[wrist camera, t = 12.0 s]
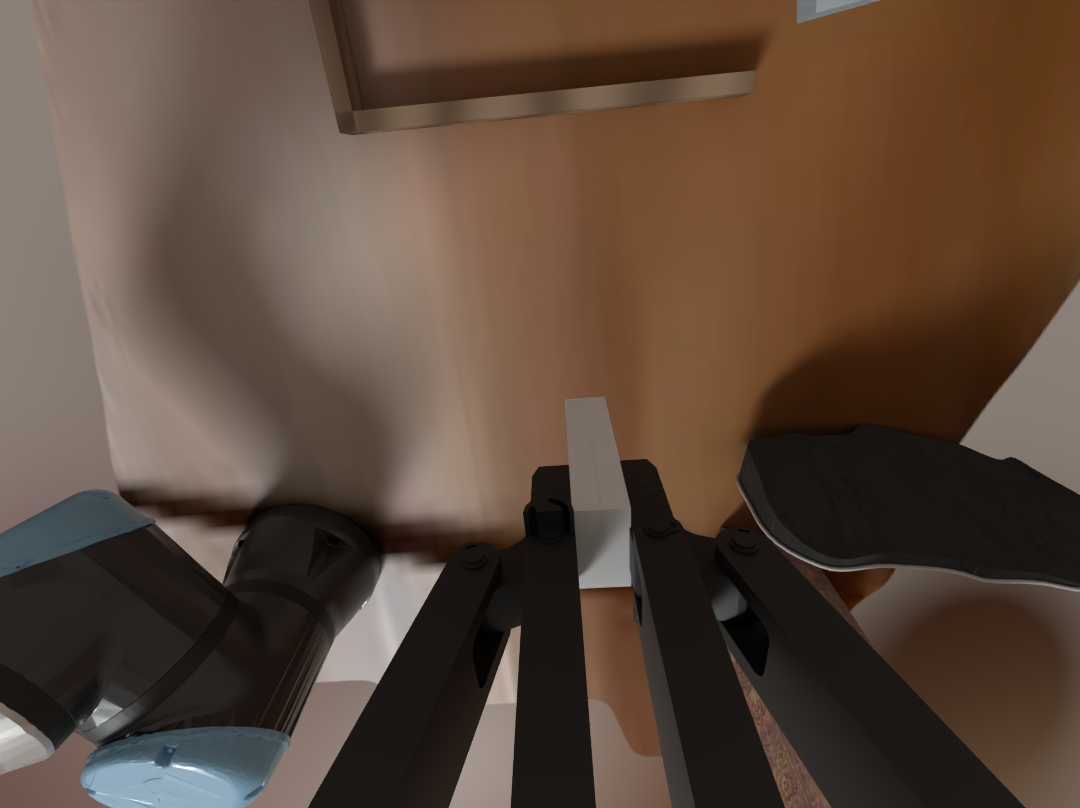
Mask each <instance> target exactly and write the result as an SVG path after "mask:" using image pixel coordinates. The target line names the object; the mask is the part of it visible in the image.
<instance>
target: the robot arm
mask: <svg viewBox="0 0 1080 808" xmlns="http://www.w3.org/2000/svg"><path fill="white" fill-rule="evenodd" d="M565 412H566V427H567V442H568V457H569V465H560V466H543V467H538V469H537V470H536V472H535V473H534V474H533V476H532V490H531V501H530V502H529V503H528V504H527V505H526V506H525V509H524V511H523V516H524V524H525V532H526V536H525V537H524V538H523V539H522V540H521V541H520V542H518V543H517V544H515V545H513V546H510V547H508V548H505V549H501V550H498V549H497V548H496V547H495V546H493V545H492V544H490V543H486V542H472V543H468V544H465V545H463V546H462V547H460V548H458V549H457V550H456V551H455V552H454V553H453V554H452V555H451V557H450V558H449V560H448V562H447V564H446V565H445V567H444V569H443V571H442V573H441V574H440V576H439V578H438V580H437V581H436V583H435V585H434V587H433V588H432V590H431V592H430V594H429V595H428V597H427V599H426V601H425V602H424V604H423V606H422V608H421V609H420V611H419V613H418V615H417V617H416V618H415V620H414V622H413V624H412V625H411V627H410V629H409V631H408V632H407V634H406V636H405V638H404V639H403V641H402V643H401V645H400V646H399V648H398V650H397V652H396V653H395V655H394V657H393V659H392V661H391V662H390V664H389V666H388V668H387V669H386V671H385V673H384V675H383V676H382V678H381V680H380V682H379V683H378V685H377V687H376V689H375V691H374V692H373V694H372V696H371V698H370V699H369V701H368V703H367V705H366V706H365V708H364V710H363V712H362V713H361V715H360V717H359V719H358V720H357V722H356V724H355V726H354V727H353V730H352V731H351V733H350V735H349V736H348V738H347V740H346V742H345V743H344V745H343V747H342V749H341V750H340V752H339V754H338V756H337V757H336V759H335V761H334V763H333V764H332V766H331V768H330V770H329V771H328V773H327V775H326V777H325V778H324V780H323V782H322V784H321V785H320V787H319V789H318V791H317V792H316V795H315V796H314V798H313V800H312V801H311V803H310V805H309V807H308V808H448V807H449V805H450V802H451V799H452V796H453V794H454V791H455V788H456V785H457V782H458V780H459V777H460V774H461V771H462V768H463V765H464V763H465V760H466V757H467V754H468V751H469V748H470V746H471V743H472V740H473V737H474V734H475V732H476V729H477V726H478V723H479V720H480V718H481V714H482V712H483V709H484V706H485V703H486V701H487V698H488V695H489V692H490V689H491V687H492V684H493V681H494V678H495V675H496V672H497V670H498V667H499V664H500V661H501V658H502V656H503V653H504V650H505V647H506V644H507V641H508V639H509V636H510V631H511V629H512V628H514V627H517V626H520V625H521V636H520V654H519V672H518V689H517V707H516V724H515V742H514V760H513V777H512V796H511V808H596V803H595V789H594V777H593V763H592V749H591V737H590V723H589V709H588V696H587V683H586V669H585V656H584V643H583V629H582V616H581V603H580V589H582V588H602V587H623V586H631V579H632V584H633V622H637V624H638V630H639V635H640V640H641V646H642V651H643V656H644V662H645V667H646V672H647V677H648V683H649V688H650V693H651V699H652V704H653V709H654V715H655V720H656V725H657V731H658V736H659V741H660V747H661V752H662V757H663V763H664V768H665V773H666V779H667V784H668V789H669V794H670V800H671V805H672V808H785V805H784V803H783V800H782V797H781V794H780V792H779V789H778V786H777V783H776V781H775V778H774V775H773V772H772V770H771V767H770V764H769V761H768V759H767V756H766V753H765V750H764V748H763V745H762V742H761V739H760V737H759V734H758V731H757V728H756V726H755V723H754V720H753V717H752V715H751V712H750V709H749V706H748V704H747V701H746V698H745V695H744V693H743V690H742V687H741V684H740V682H739V679H738V676H737V673H736V671H735V668H734V665H733V662H732V660H731V657H730V654H729V651H730V652H731V654H732V655H733V657H734V658H735V660H736V661H737V663H738V665H739V666H740V668H741V669H742V671H743V672H744V674H745V675H746V677H747V678H748V680H749V681H750V683H751V685H752V686H753V688H754V689H755V691H756V692H757V694H758V695H759V697H760V698H761V700H762V701H763V703H764V705H765V706H766V708H767V709H768V711H769V712H770V714H771V715H772V717H773V718H774V720H775V721H776V723H777V725H778V726H779V728H780V729H781V731H782V732H783V734H784V735H785V737H786V738H787V740H788V741H789V743H790V745H791V746H792V748H793V749H794V751H795V752H796V754H797V755H798V757H799V758H800V760H801V761H802V763H803V765H804V766H805V768H806V769H807V771H808V772H809V774H810V775H811V777H812V778H813V780H814V781H815V783H816V785H817V786H818V788H819V789H820V791H821V792H822V794H823V795H824V797H825V798H826V800H827V801H828V803H829V805H830V806H831V808H1025V807H1024V806H1023V805H1022V804H1021V803H1020V802H1019V801H1018V800H1017V798H1016V797H1014V795H1013V794H1012V793H1011V792H1010V791H1009V790H1008V789H1007V788H1006V787H1005V786H1004V785H1003V784H1002V783H1001V782H1000V781H999V780H998V779H997V778H996V777H995V775H994V774H992V773H991V771H990V770H989V769H988V768H987V767H986V766H985V765H984V764H983V763H982V762H981V761H980V760H979V759H978V758H977V757H976V756H975V755H974V753H973V752H971V750H970V749H969V748H968V747H967V746H966V745H965V744H964V743H963V742H962V741H961V740H960V739H959V738H958V737H957V736H956V735H955V734H954V733H953V732H952V730H951V729H950V728H949V727H948V726H947V725H946V724H945V723H944V722H943V721H942V720H941V719H940V718H939V717H938V716H937V715H936V714H935V713H934V712H933V711H932V710H931V708H929V707H928V705H927V704H926V703H925V702H924V701H923V700H922V699H921V698H920V697H919V696H918V695H917V694H916V693H915V692H914V691H913V690H912V689H911V688H910V687H909V685H908V684H906V682H905V681H904V680H903V679H902V678H901V677H900V676H899V675H898V674H897V673H896V672H895V671H894V670H893V669H892V668H891V667H890V666H889V665H888V664H887V662H886V661H885V660H884V659H883V658H882V657H881V656H880V655H879V654H878V653H877V652H876V651H875V650H874V649H873V648H872V647H871V646H870V645H869V644H868V643H867V642H866V640H865V639H864V638H863V637H862V636H861V635H860V634H859V633H858V632H857V631H856V630H855V629H854V628H853V627H852V626H851V625H850V624H849V623H848V622H847V621H846V620H845V619H844V617H843V616H842V615H841V614H840V613H839V612H838V611H837V610H836V609H835V608H834V607H833V606H832V605H831V604H830V603H829V602H828V601H827V600H826V599H825V598H824V597H823V595H822V594H821V593H820V592H819V591H818V590H817V589H816V588H815V587H814V586H813V585H812V584H811V583H810V582H809V581H808V580H807V579H806V578H805V577H804V576H803V575H802V574H801V572H800V571H799V570H798V569H797V568H796V567H795V566H794V565H793V564H792V563H791V562H790V561H789V560H788V559H787V558H786V557H785V556H784V555H783V554H782V553H781V552H780V550H779V549H778V548H777V547H776V546H775V545H774V544H773V543H772V542H771V541H770V540H769V539H768V538H767V537H765V536H764V535H763V534H762V533H760V532H758V531H756V530H753V529H751V528H746V527H740V526H736V527H728V528H726V529H724V530H721V531H720V533H719V534H718V535H717V539H716V538H711V537H705V536H700V535H696V534H693V533H691V532H688V531H686V530H685V529H684V528H683V526H682V525H681V523H680V522H679V521H678V520H676V519H675V518H674V517H673V514H672V511H671V508H670V506H669V503H668V500H667V497H666V494H665V491H664V488H663V486H662V483H661V480H660V477H659V474H658V471H657V468H656V467H655V466H654V465H653V464H652V463H650V462H649V461H648V460H647V459H639V460H623V461H620V460H619V456H618V451H617V447H616V443H615V439H614V434H613V430H612V426H611V422H610V418H609V413H608V409H607V405H606V401H605V397H593V398H579V399H565ZM155 522H156V521H155V520H154V519H152V518H147V517H146V516H144V515H143V514H141V513H140V512H139V511H137V510H136V509H135V508H134V507H132V506H131V505H130V504H129V503H127V502H126V501H125V500H124V499H122V498H121V497H120V496H118V495H117V494H115V493H113V492H111V491H107V490H102V489H93V490H86V491H82V492H79V493H77V494H74V495H73V496H71V497H69V498H67V499H65V500H63V501H61V502H59V503H57V504H55V505H54V506H51V507H50V508H48V509H46V510H44V511H42V512H40V513H38V514H36V515H34V516H33V517H31V518H29V519H27V520H25V521H23V522H21V523H19V524H18V525H16V526H14V527H12V528H10V529H8V530H6V531H4V532H2V533H1V534H0V775H1V774H3V773H6V772H9V771H11V770H15V769H18V768H21V767H24V766H27V765H30V764H33V763H36V762H39V761H42V760H45V759H47V758H48V757H49V756H50V755H51V754H53V753H54V752H55V751H56V750H57V749H58V747H59V746H60V745H61V744H62V743H63V742H64V741H65V740H66V739H67V738H68V737H69V736H70V735H71V734H72V733H73V731H74V732H76V733H77V734H79V735H81V736H82V737H84V738H85V739H87V740H89V741H90V742H92V743H93V744H95V745H96V747H97V749H96V750H95V751H94V752H93V753H91V754H90V755H89V757H88V758H87V760H86V762H85V767H84V769H83V772H82V774H81V784H82V786H83V787H84V788H86V789H87V793H88V794H89V796H91V797H92V798H94V799H95V800H96V801H98V802H100V803H102V804H104V805H106V806H108V807H111V808H244V807H245V806H247V805H248V804H250V803H251V802H253V801H254V800H255V799H256V798H257V797H258V796H259V795H260V794H261V793H262V791H263V790H264V789H265V787H266V785H267V784H268V782H269V780H270V778H271V776H272V774H273V773H274V771H275V769H276V767H277V765H278V763H279V761H280V759H281V758H282V755H283V754H284V752H285V751H286V750H287V748H288V747H289V745H290V741H291V739H290V738H291V736H292V733H293V731H294V729H295V727H296V724H297V722H298V720H299V718H300V715H301V713H302V711H303V709H304V706H305V704H306V702H307V700H308V697H309V695H310V693H311V691H312V688H313V686H314V684H315V682H316V679H317V677H318V675H319V673H320V670H321V668H322V666H323V664H324V661H325V659H326V657H327V654H328V652H329V650H330V648H331V646H332V643H333V641H334V639H335V637H336V636H337V635H338V634H339V633H340V632H341V630H342V629H343V628H344V627H345V626H346V625H347V624H348V622H349V621H350V620H351V619H352V618H353V617H354V615H355V614H356V613H357V612H359V611H360V610H361V609H362V608H363V607H364V606H365V605H366V603H367V602H368V600H369V599H370V597H371V595H372V593H373V591H374V589H375V586H376V584H377V581H378V579H379V575H380V559H379V555H378V552H377V550H376V548H375V546H374V544H373V543H372V541H371V540H370V538H369V537H368V536H367V535H366V534H365V533H364V532H363V531H362V530H361V529H360V528H359V527H358V526H357V525H355V524H354V523H353V522H351V521H350V520H348V519H347V518H345V517H343V516H341V515H339V514H337V513H335V512H332V511H330V510H327V509H323V508H320V507H315V506H309V505H284V506H279V507H275V508H272V509H269V510H267V511H265V512H263V513H261V514H260V515H258V516H257V517H256V518H255V519H253V521H252V522H251V523H250V524H249V525H248V526H247V528H246V529H245V530H244V531H243V532H242V534H241V535H240V536H239V538H238V540H237V541H236V543H235V545H234V548H233V551H232V556H231V558H230V561H229V564H228V567H227V570H226V573H225V576H224V580H223V583H222V584H221V583H220V582H219V581H218V580H217V579H216V578H214V577H213V576H212V575H211V574H210V573H209V572H208V571H206V570H205V569H204V568H203V567H202V566H201V565H200V564H199V563H198V562H196V561H195V560H194V559H193V558H192V557H191V556H190V555H189V554H188V553H187V552H185V551H184V550H183V549H182V548H181V547H180V546H179V545H178V544H177V543H176V542H174V541H173V540H172V539H171V538H170V537H169V536H168V535H167V534H166V533H165V532H163V531H162V530H161V529H160V528H159V527H158V526H157V525H156V524H155ZM727 648H728V649H729V651H728V649H727Z"/></svg>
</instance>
